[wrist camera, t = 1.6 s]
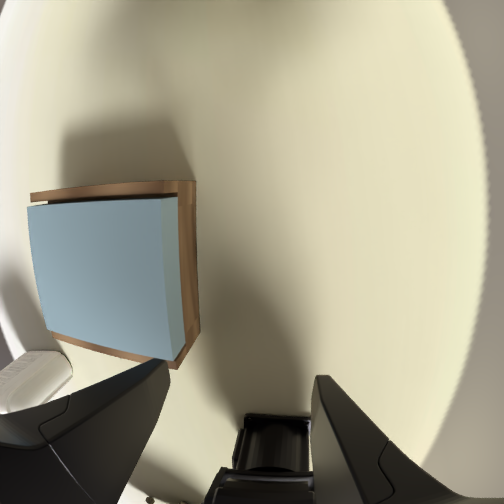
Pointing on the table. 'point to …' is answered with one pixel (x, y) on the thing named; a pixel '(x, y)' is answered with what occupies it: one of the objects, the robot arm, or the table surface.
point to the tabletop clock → (151, 500)
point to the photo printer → (32, 380)
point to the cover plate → (111, 272)
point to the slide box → (186, 249)
